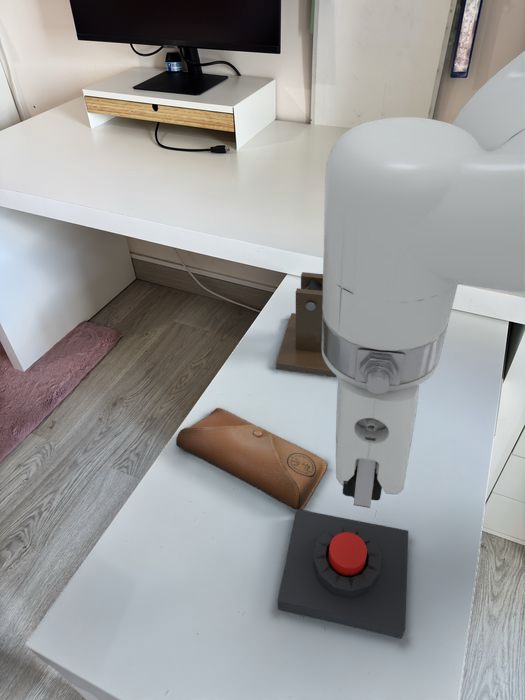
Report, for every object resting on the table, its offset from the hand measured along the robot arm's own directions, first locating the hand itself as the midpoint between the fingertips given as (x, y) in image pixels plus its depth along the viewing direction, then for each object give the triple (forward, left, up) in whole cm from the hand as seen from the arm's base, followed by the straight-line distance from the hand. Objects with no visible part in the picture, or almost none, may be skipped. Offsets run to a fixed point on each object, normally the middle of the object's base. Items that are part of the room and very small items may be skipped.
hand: (361, 489), depth 44 cm
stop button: (0, +2, -10) cm, 10 cm away
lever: (+6, -32, -7) cm, 34 cm away
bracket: (+9, -32, -14) cm, 36 cm away
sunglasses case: (+13, -10, -14) cm, 22 cm away
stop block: (0, +2, -14) cm, 14 cm away
